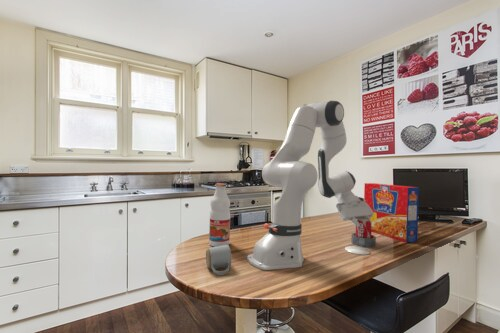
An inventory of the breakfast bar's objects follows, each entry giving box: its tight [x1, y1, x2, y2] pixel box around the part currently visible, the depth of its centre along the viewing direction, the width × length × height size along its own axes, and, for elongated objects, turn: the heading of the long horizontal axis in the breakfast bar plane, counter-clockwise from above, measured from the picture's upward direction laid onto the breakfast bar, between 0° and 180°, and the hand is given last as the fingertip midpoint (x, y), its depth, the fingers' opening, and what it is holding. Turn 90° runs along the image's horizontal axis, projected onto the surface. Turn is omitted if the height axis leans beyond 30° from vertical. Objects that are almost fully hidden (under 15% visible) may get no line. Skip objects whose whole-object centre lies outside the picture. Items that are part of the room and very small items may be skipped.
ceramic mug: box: [205, 244, 233, 276], centre depth 88 cm, size 11×8×8 cm
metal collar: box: [350, 232, 377, 248], centre depth 123 cm, size 11×11×4 cm
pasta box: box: [363, 182, 420, 244], centre depth 141 cm, size 28×8×28 cm, turn 20°
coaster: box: [344, 245, 371, 256], centre depth 112 cm, size 10×10×1 cm
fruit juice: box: [208, 182, 231, 247], centre depth 116 cm, size 9×9×28 cm
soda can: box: [355, 218, 373, 238], centre depth 123 cm, size 7×7×12 cm
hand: (365, 225), depth 122 cm, fingers closed on soda can, 6 cm apart
